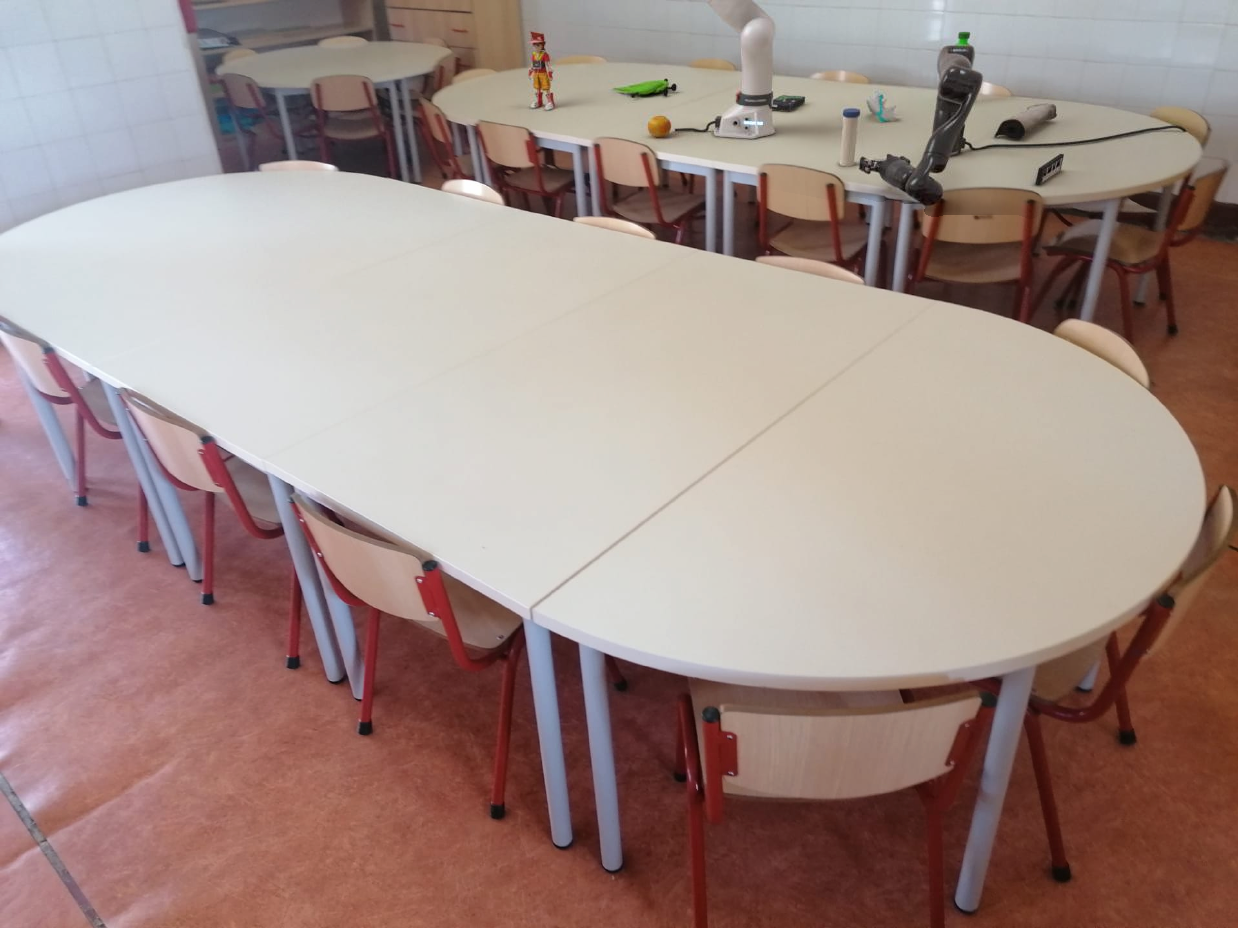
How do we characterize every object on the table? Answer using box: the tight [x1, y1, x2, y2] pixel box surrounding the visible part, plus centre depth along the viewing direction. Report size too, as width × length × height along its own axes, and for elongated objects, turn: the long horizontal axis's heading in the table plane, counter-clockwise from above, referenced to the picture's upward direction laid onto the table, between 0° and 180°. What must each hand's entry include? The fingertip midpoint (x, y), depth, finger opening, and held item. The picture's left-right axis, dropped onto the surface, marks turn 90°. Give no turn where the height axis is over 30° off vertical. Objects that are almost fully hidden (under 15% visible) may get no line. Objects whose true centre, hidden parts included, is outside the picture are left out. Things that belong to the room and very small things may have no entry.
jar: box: [839, 116, 860, 167], centre depth 292 cm, size 5×5×17 cm
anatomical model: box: [865, 90, 901, 123], centre depth 339 cm, size 15×10×10 cm
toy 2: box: [612, 78, 677, 99], centre depth 396 cm, size 28×5×30 cm
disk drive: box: [772, 94, 806, 112], centre depth 362 cm, size 10×3×15 cm
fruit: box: [647, 115, 672, 138], centre depth 334 cm, size 8×8×8 cm
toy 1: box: [527, 31, 556, 111], centre depth 374 cm, size 12×9×30 cm
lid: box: [842, 107, 861, 117], centre depth 287 cm, size 5×5×2 cm
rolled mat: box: [993, 103, 1058, 141], centre depth 317 cm, size 30×9×10 cm
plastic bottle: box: [955, 31, 976, 59], centre depth 348 cm, size 10×10×25 cm
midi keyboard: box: [1035, 153, 1065, 186], centre depth 273 cm, size 18×1×5 cm, turn 138°
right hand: (874, 158), depth 276 cm, fingers open, 8 cm apart
